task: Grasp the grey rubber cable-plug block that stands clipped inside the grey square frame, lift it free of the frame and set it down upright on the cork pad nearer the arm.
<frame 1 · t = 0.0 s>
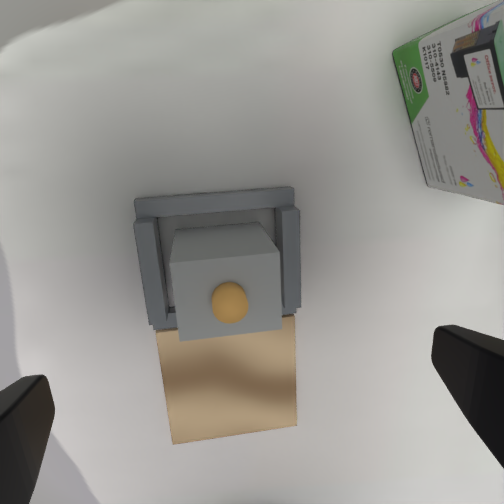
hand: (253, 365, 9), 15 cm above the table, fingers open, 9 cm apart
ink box: (443, 107, 23), on the table
cork pad: (231, 380, 26), on the table
cable plug: (220, 256, 23), resting in grey square frame
grey square frame: (220, 257, 23), on the table
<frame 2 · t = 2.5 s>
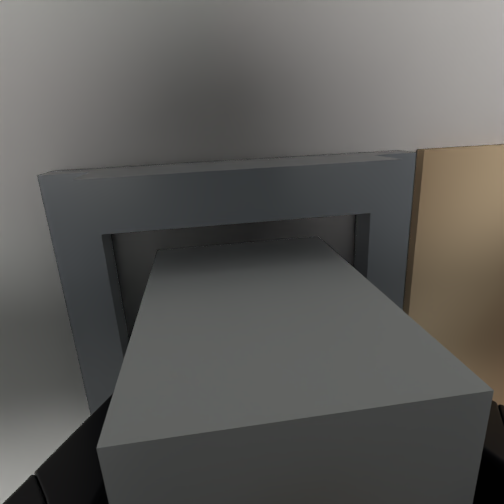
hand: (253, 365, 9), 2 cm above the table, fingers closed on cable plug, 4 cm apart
cable plug: (245, 331, 10), resting in grey square frame, touching gripper
grey square frame: (244, 332, 10), on the table
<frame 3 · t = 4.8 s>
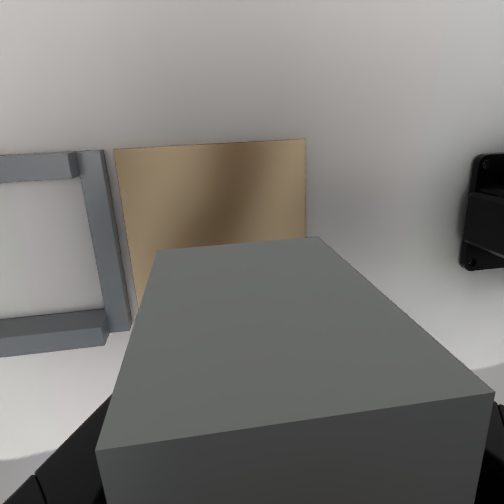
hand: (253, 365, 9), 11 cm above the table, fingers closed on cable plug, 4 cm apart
cork pad: (218, 234, 19), on the table
cable plug: (244, 332, 10), point 10 cm above the table, touching gripper
grey square frame: (33, 250, 18), on the table
when the fingers open (2 cm above the table, at t = 7.0 s): cable plug stays where it is, resting on cork pad.
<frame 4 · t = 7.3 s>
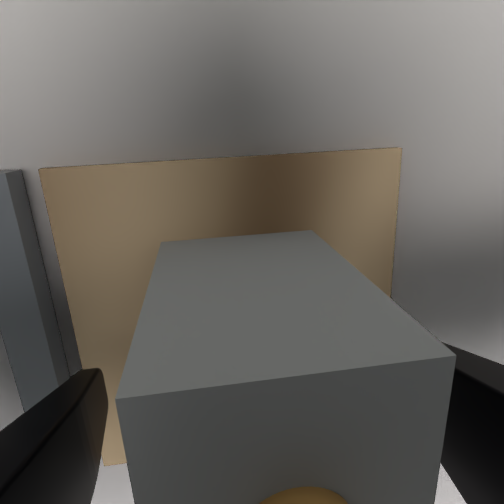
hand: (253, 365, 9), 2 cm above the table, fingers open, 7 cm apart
cork pad: (239, 315, 11), on the table
cable plug: (242, 320, 11), resting on cork pad
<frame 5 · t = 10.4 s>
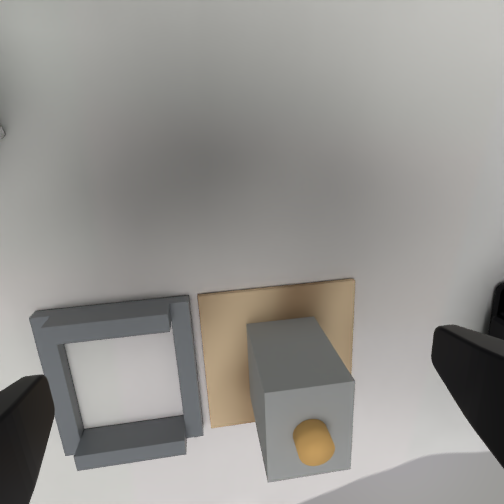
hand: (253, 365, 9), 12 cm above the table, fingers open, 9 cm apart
cork pad: (279, 354, 23), on the table
cable plug: (281, 357, 23), resting on cork pad
grey square frame: (126, 373, 22), on the table
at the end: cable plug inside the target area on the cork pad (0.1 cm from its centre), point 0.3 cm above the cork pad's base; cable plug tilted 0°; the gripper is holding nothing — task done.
